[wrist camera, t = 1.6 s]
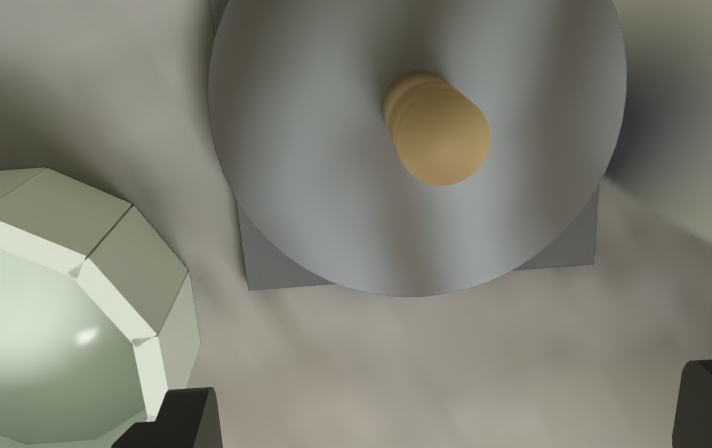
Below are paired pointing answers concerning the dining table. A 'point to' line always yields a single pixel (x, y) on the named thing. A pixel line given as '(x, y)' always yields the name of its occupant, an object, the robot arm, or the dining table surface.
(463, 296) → the dining table surface
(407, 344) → the dining table surface
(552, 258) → the mat
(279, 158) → the lid
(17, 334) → the bowl
